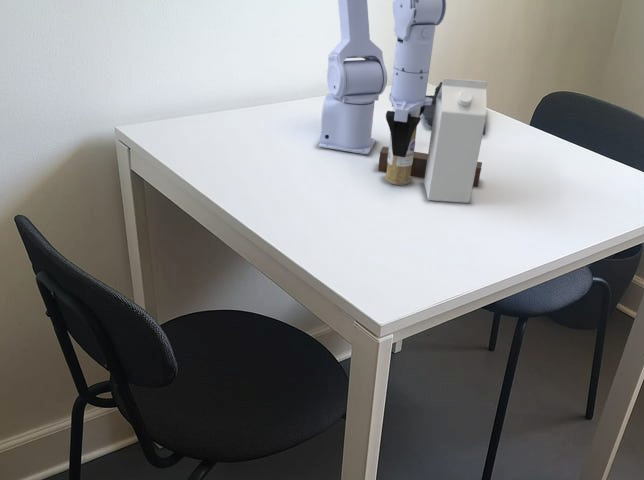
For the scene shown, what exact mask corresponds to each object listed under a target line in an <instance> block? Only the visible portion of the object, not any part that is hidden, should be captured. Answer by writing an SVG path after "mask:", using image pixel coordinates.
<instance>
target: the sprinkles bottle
mask: <svg viewBox="0 0 644 480" xmlns="http://www.w3.org/2000/svg"><path fill="white" fill-rule="evenodd" d="M420 108H421V107H419V108H417V109H415V110H413V111H411V112H410V114H411V116H413V117H419V116H420ZM391 111H394V112H395V109H394V107H392V110H391ZM410 114H409V115H410ZM420 117H421V116H420ZM417 129H418V126H417V127H416V128H415V130H414V132H413V134H412V137H411V140H410V144H409V147H408V151H407V153H406V156H405V157H399V156H393V152H392V142H391V133H390V136H389V143H388V147H389V151H388V160H387V162H388V165H387V172H385V173H386V174H385V176H384V178H385V180H386V181H387V182H388V183H390V184H392V185H396V186H404V185H408V184H410V182H411V176H410V175H411V167H412V163H413V156H414V152H415V148H416V137H417Z"/></svg>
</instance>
